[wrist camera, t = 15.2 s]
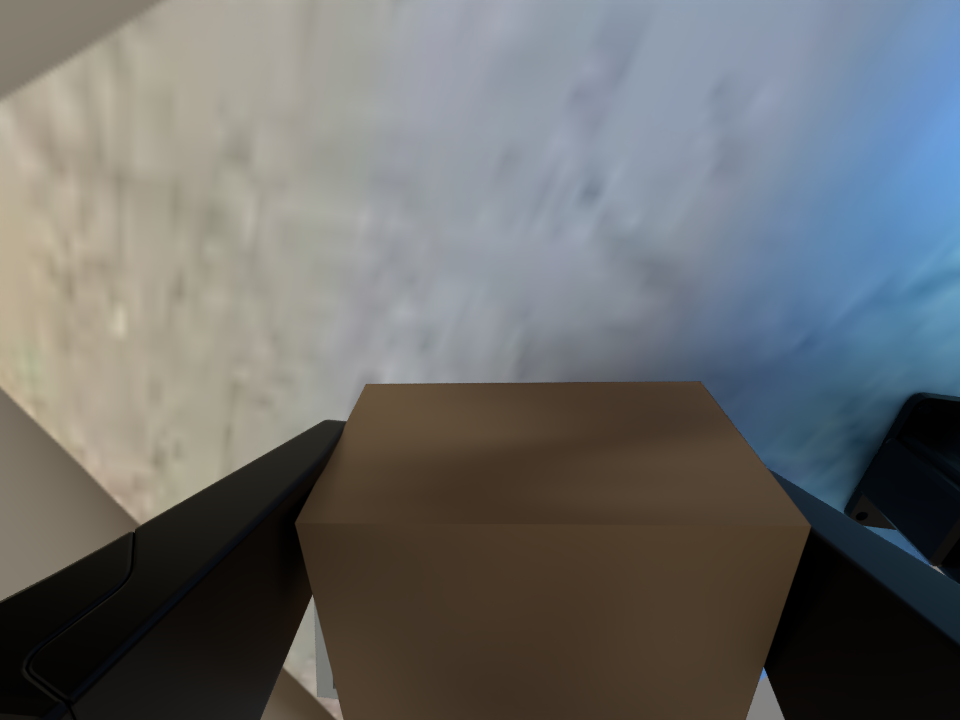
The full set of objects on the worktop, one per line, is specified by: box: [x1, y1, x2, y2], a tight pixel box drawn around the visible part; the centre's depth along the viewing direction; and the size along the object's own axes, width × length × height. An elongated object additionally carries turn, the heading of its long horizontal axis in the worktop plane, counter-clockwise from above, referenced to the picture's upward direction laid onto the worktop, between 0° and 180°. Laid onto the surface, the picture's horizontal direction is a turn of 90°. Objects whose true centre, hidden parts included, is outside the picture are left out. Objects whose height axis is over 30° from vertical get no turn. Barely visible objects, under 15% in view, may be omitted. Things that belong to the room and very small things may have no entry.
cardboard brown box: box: [295, 381, 811, 720], centre depth 8 cm, size 6×4×4 cm, turn 92°
